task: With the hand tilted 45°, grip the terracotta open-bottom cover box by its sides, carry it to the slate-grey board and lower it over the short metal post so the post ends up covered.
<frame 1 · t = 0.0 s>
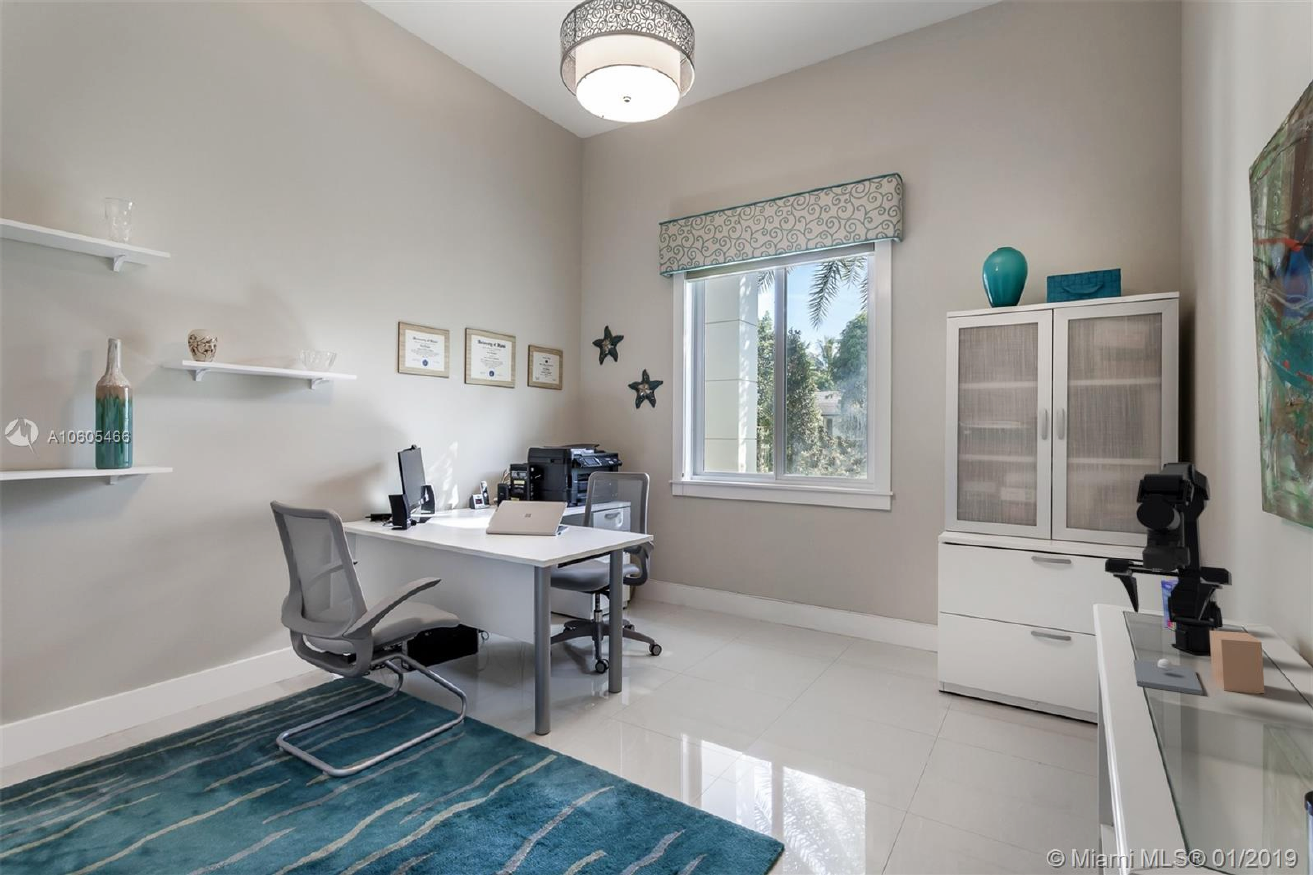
hand: (1166, 616, 120), 15 cm above the table, tool pointing down, fingers open, 9 cm apart
post board: (1165, 678, 128), on the table
ink cartridge box: (1190, 630, 157), on the table
cover box: (1237, 686, 122), on the table
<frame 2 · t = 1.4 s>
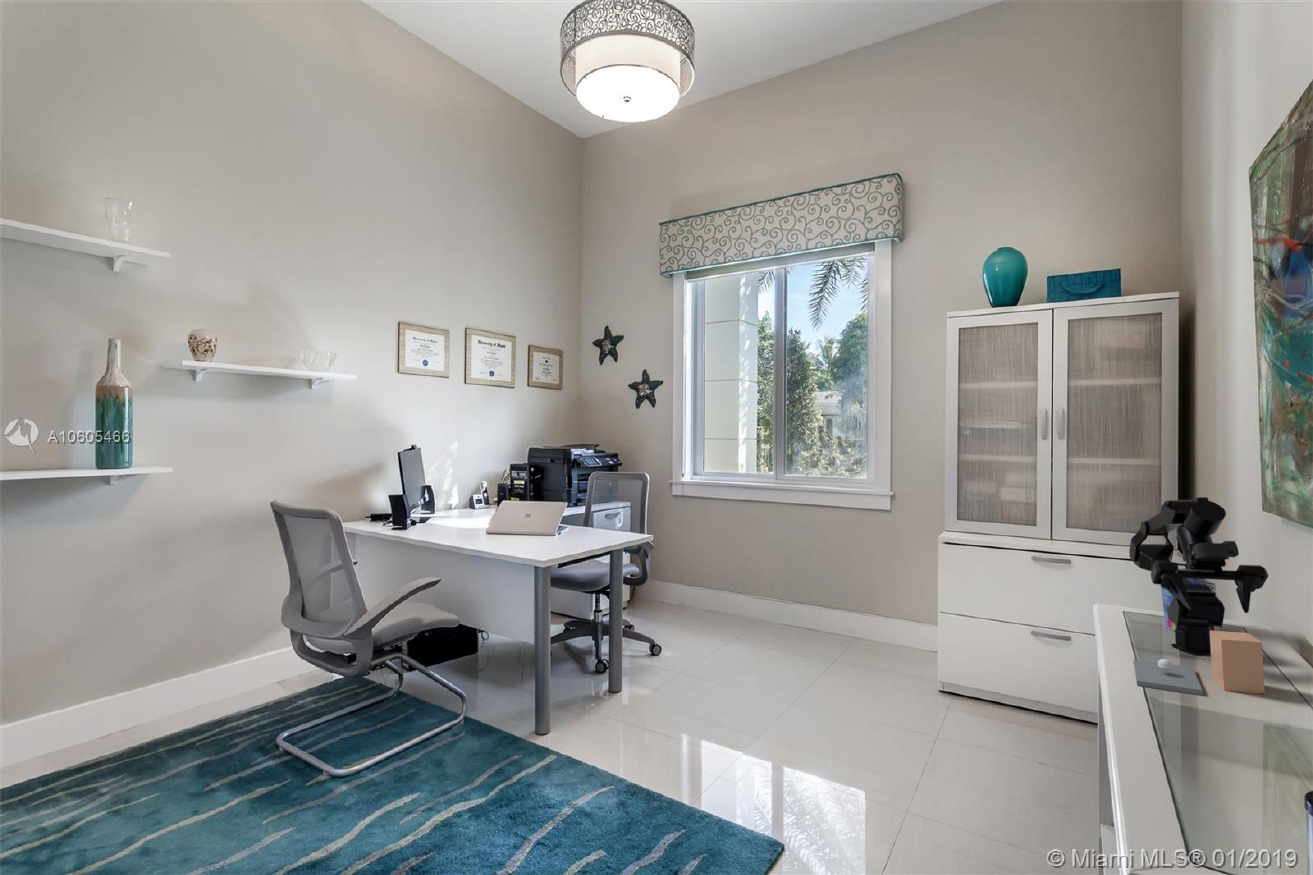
hand: (1218, 610, 130), 13 cm above the table, tool tilted 40°, fingers open, 9 cm apart
ink cartridge box: (1191, 630, 157), on the table, touching arm
everything else where it was.
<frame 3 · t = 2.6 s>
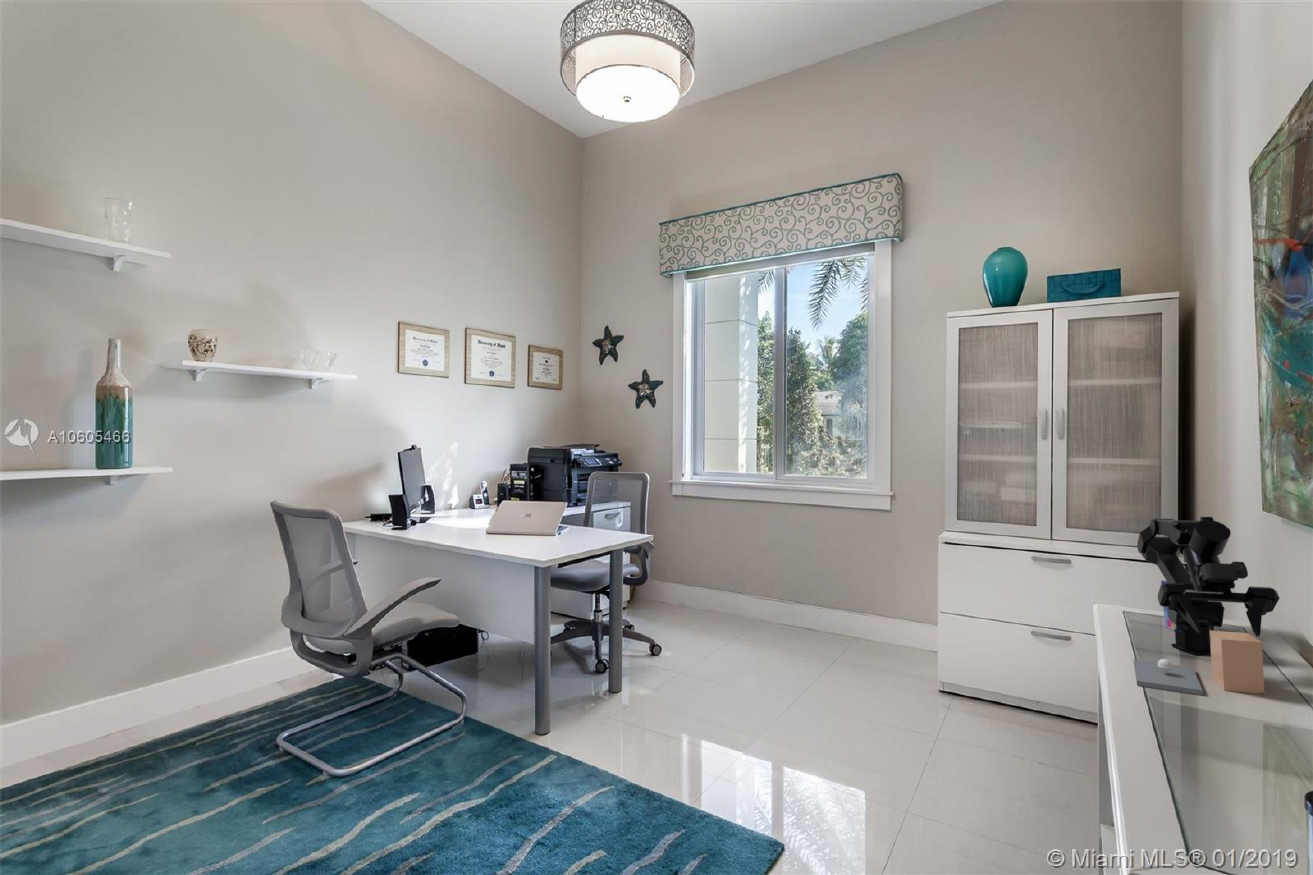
hand: (1228, 633, 125), 10 cm above the table, tool tilted 45°, fingers open, 9 cm apart
ink cartridge box: (1191, 630, 157), on the table
everything else where it was.
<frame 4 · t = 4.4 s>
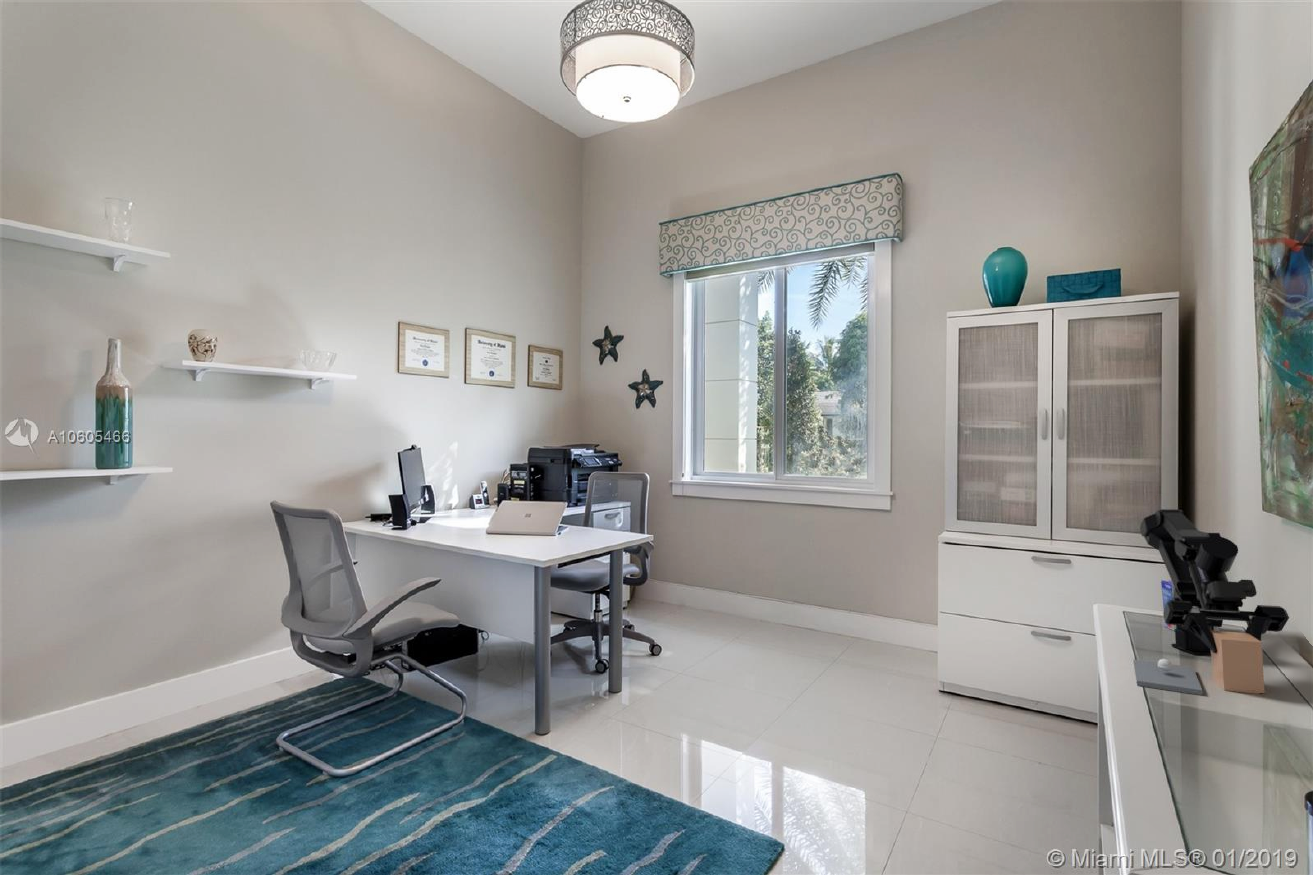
hand: (1236, 653, 122), 7 cm above the table, tool tilted 45°, fingers closed on cover box, 6 cm apart
cover box: (1237, 686, 122), on the table, touching gripper
everything else where it was.
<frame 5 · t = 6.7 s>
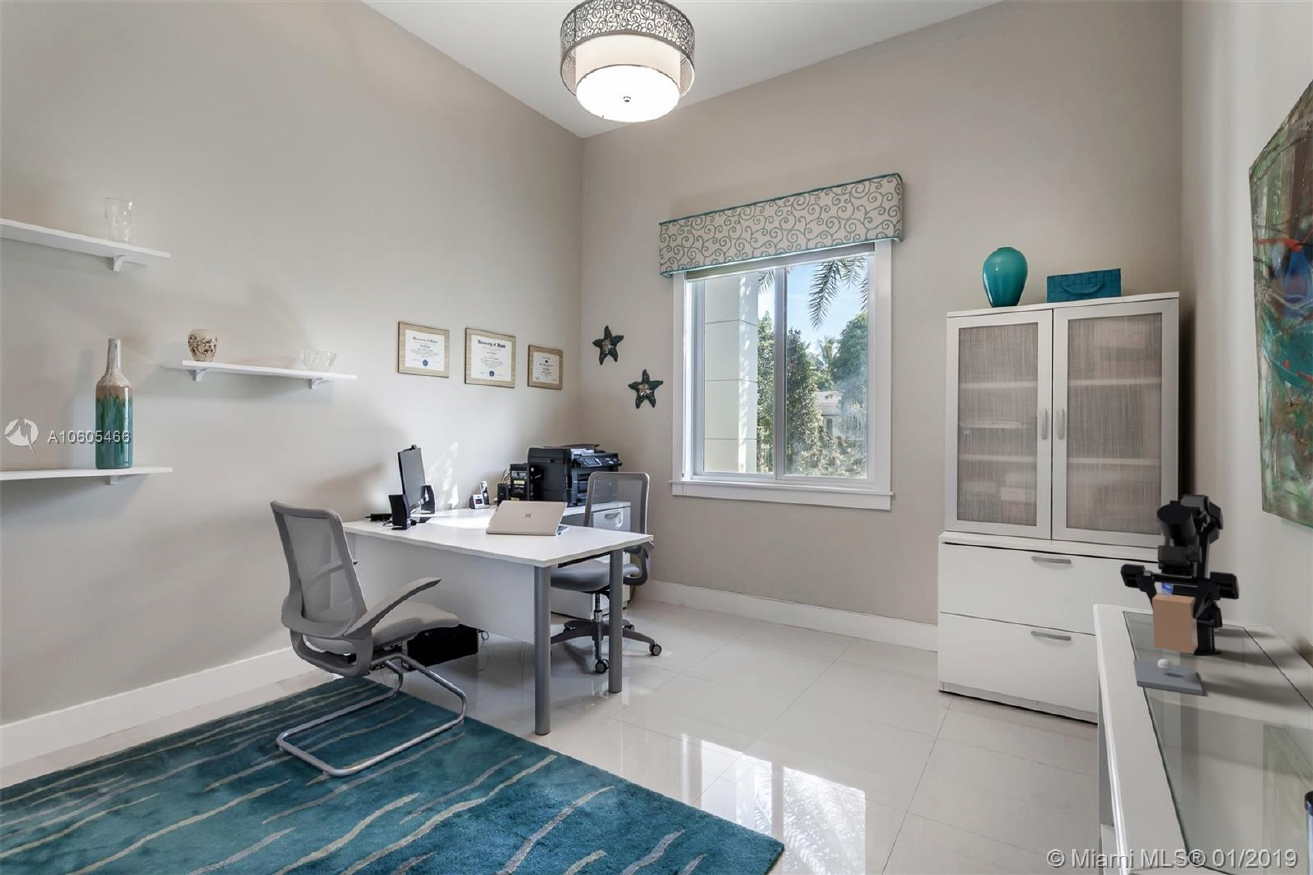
hand: (1173, 615, 126), 14 cm above the table, tool tilted 45°, fingers closed on cover box, 6 cm apart
cover box: (1176, 646, 127), point 7 cm above the table, touching gripper
everything else where it was.
when the fingers open (8 cm above the table, at t = 9.2 s): cover box stays where it is, resting on post board.
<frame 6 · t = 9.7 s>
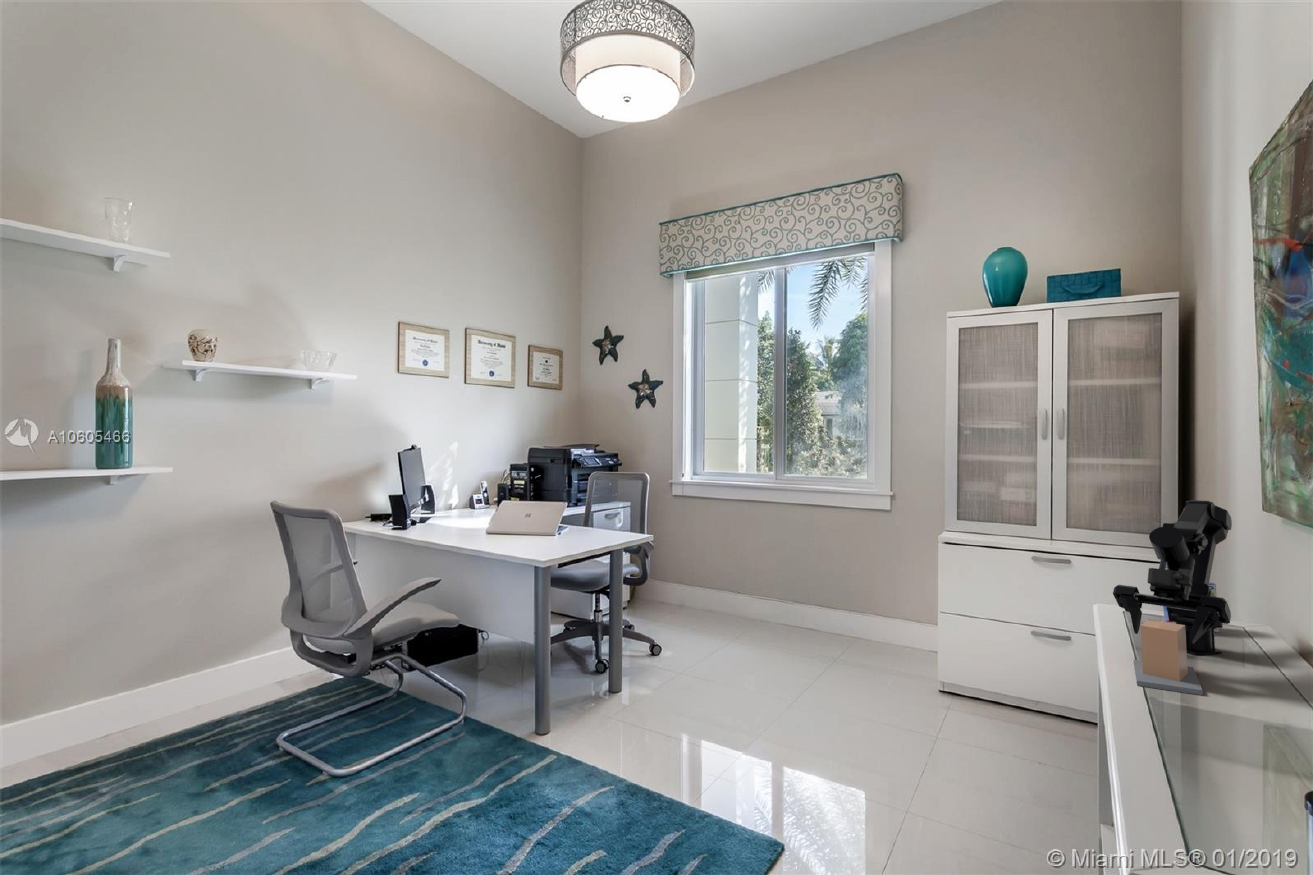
hand: (1162, 637, 128), 9 cm above the table, tool tilted 45°, fingers open, 9 cm apart
cover box: (1165, 673, 128), point 1 cm above the table, touching post board
everything else where it was.
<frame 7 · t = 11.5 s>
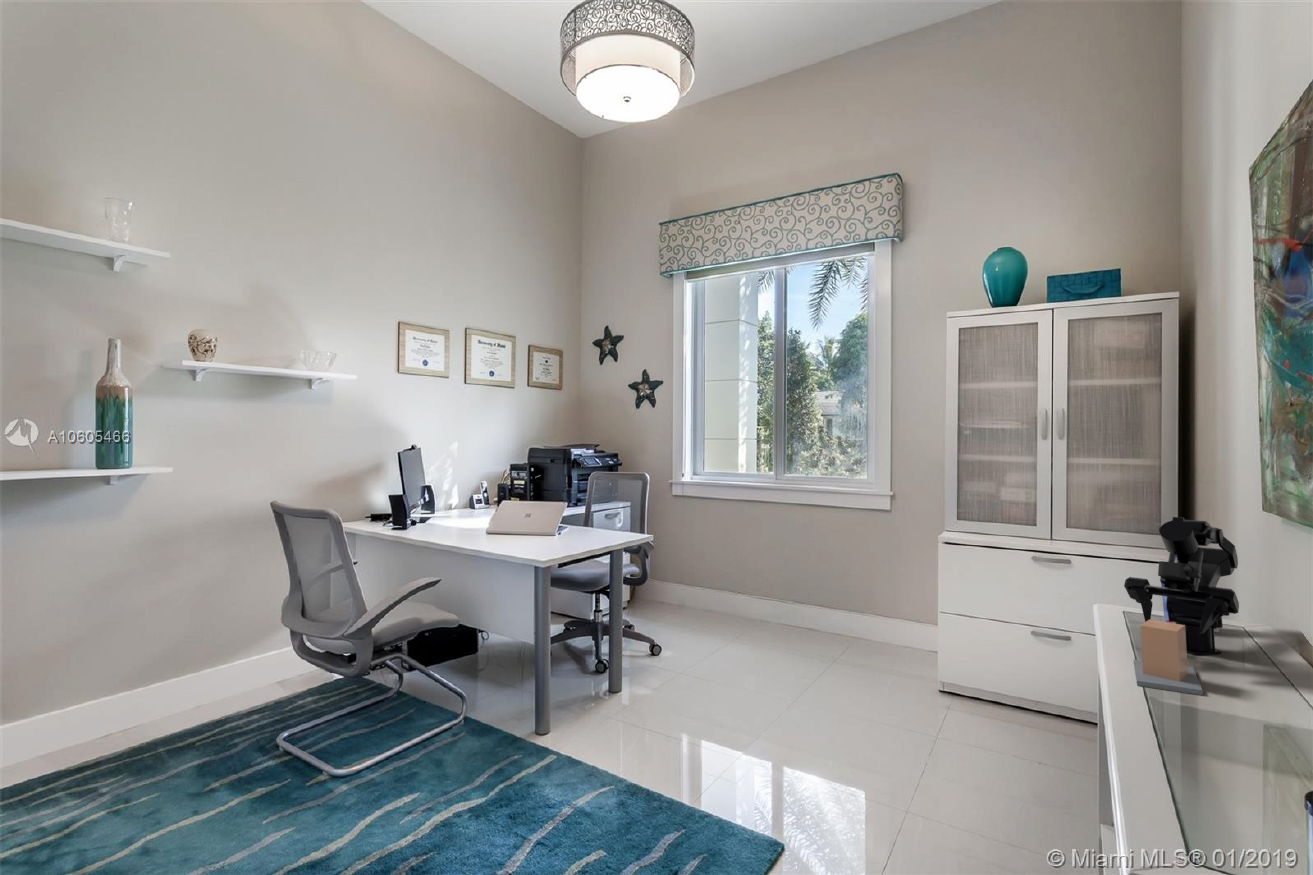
hand: (1173, 628, 133), 9 cm above the table, tool tilted 45°, fingers open, 9 cm apart
ink cartridge box: (1191, 630, 157), on the table, touching arm
everything else where it was.
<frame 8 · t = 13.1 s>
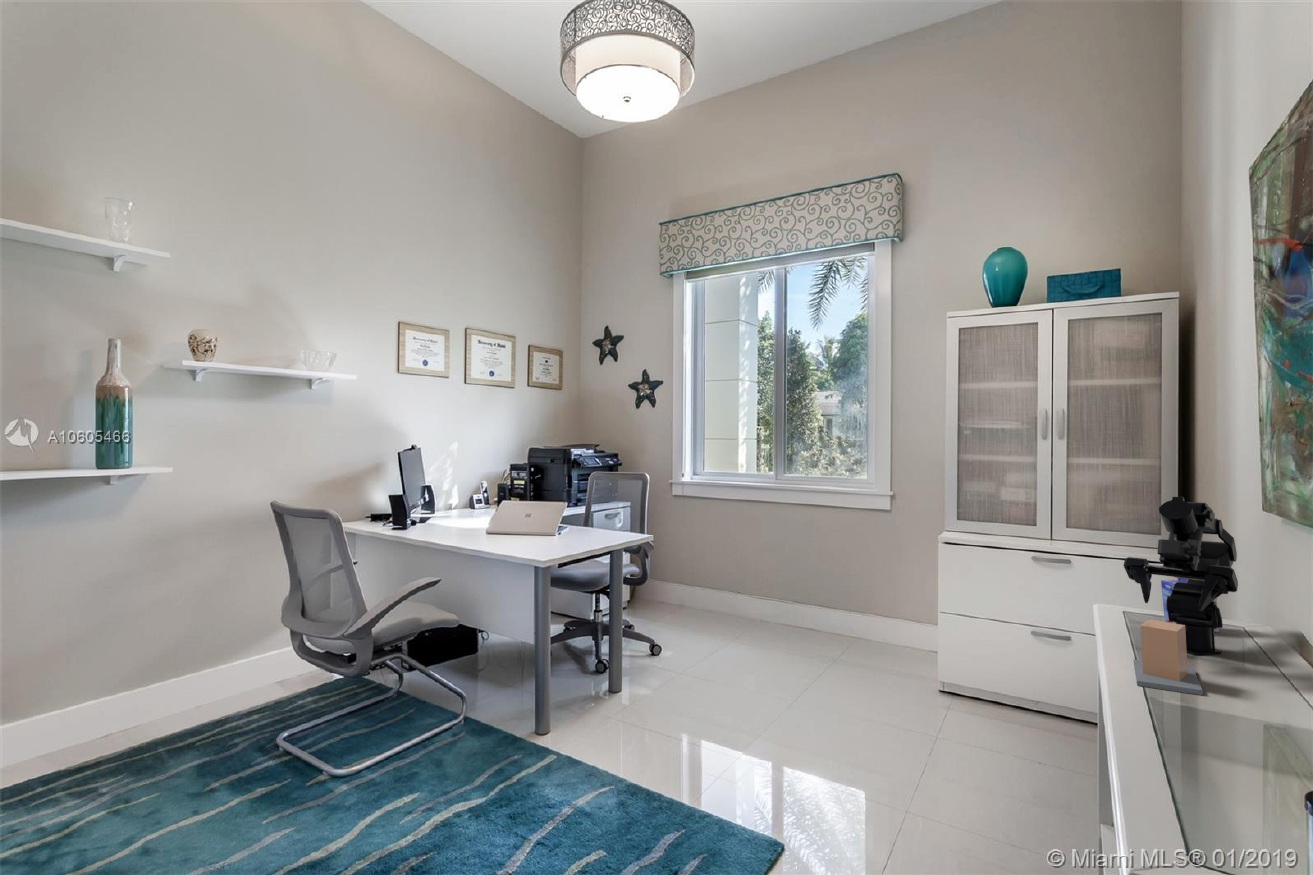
hand: (1172, 605, 133), 14 cm above the table, tool tilted 45°, fingers open, 9 cm apart
ink cartridge box: (1191, 630, 157), on the table
everything else where it was.
at the end: cover box 0.1 cm from the post board (horizontally); cover box point 1.0 cm above the table; cover box tilted 0° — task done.
